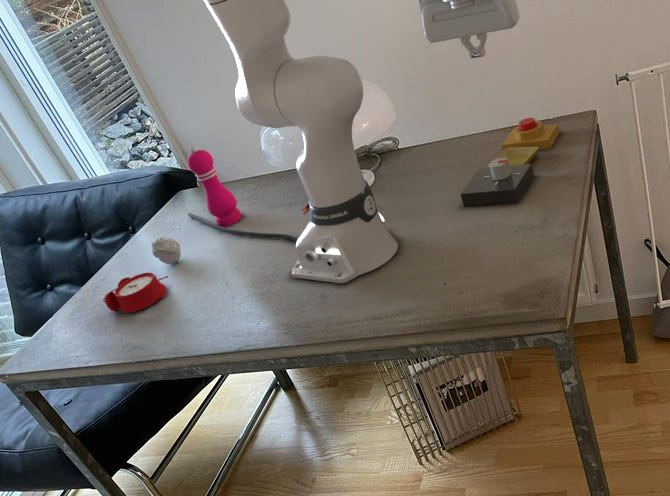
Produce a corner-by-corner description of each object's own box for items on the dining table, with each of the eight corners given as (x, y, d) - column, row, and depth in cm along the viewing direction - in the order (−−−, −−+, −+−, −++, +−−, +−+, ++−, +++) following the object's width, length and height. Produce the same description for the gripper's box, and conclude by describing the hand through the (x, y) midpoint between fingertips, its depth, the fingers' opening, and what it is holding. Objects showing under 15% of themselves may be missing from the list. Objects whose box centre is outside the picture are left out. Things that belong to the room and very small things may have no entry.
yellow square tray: (523, 174, 158) (521, 165, 157) (489, 174, 163) (486, 165, 162) (541, 155, 163) (539, 146, 162) (508, 156, 168) (506, 147, 167)
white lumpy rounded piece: (157, 273, 173) (142, 247, 169) (167, 258, 178) (153, 233, 174) (180, 267, 171) (165, 241, 167) (190, 252, 177) (176, 227, 173)
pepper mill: (242, 210, 189) (206, 135, 178) (244, 220, 184) (207, 143, 172) (215, 221, 189) (177, 147, 177) (217, 231, 183) (177, 155, 171)
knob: (490, 181, 153) (486, 166, 151) (495, 172, 156) (492, 157, 154) (508, 179, 151) (504, 164, 149) (513, 170, 154) (510, 155, 152)
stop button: (518, 132, 168) (516, 125, 167) (523, 126, 170) (521, 118, 169) (533, 131, 166) (531, 123, 165) (538, 124, 168) (536, 116, 167)
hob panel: (464, 206, 154) (459, 193, 152) (482, 181, 161) (478, 168, 160) (518, 202, 148) (514, 188, 147) (534, 176, 156) (531, 162, 154)
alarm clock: (145, 297, 155) (83, 290, 158) (154, 321, 159) (94, 314, 162) (171, 269, 162) (111, 263, 166) (179, 293, 166) (121, 287, 170)
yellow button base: (503, 153, 170) (499, 137, 168) (514, 138, 175) (511, 122, 173) (549, 148, 165) (546, 131, 163) (559, 133, 170) (556, 116, 168)
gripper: (409, 0, 150) (428, 69, 158) (502, -21, 141) (518, 54, 149) (422, -9, 155) (440, 59, 162) (513, -29, 145) (528, 43, 153)
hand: (478, 56), depth 155 cm, fingers closed
